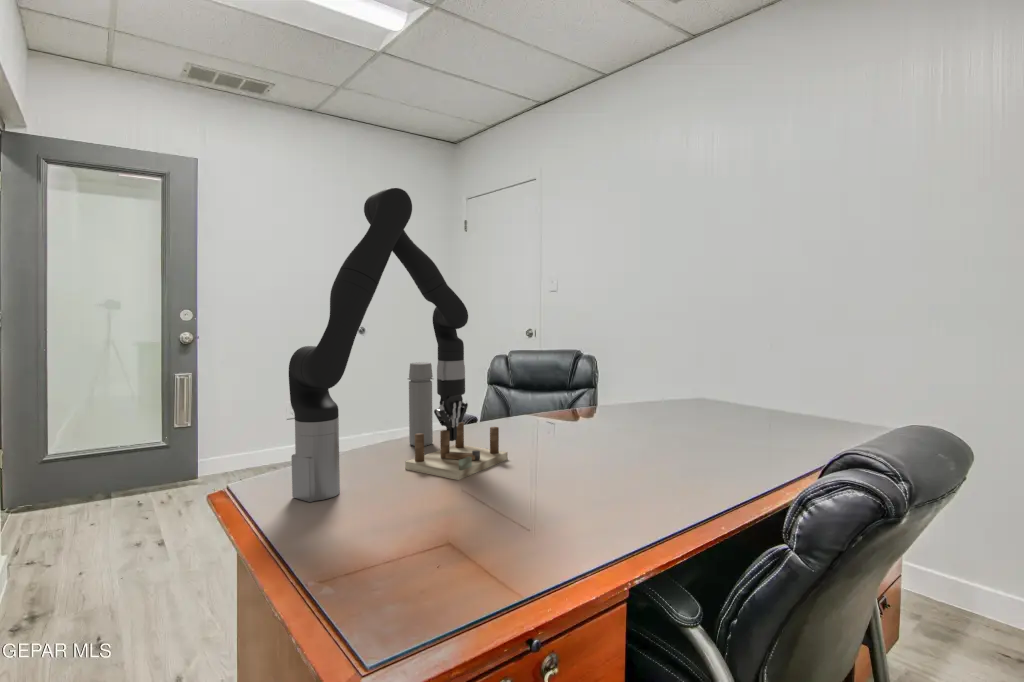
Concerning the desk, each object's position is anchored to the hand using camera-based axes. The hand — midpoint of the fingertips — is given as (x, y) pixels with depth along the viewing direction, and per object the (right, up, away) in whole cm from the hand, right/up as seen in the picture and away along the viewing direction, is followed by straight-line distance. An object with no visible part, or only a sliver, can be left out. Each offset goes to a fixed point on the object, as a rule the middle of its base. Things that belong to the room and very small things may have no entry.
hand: (451, 440), depth 149 cm
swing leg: (+3, -4, -4) cm, 6 cm away
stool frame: (+2, -6, -1) cm, 7 cm away
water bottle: (-12, -5, +21) cm, 25 cm away
